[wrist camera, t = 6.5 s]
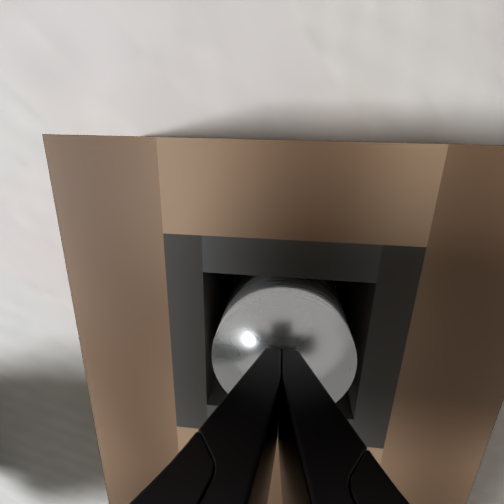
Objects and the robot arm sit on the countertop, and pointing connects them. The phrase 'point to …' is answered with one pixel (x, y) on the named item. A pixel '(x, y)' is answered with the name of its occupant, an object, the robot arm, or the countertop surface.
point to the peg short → (285, 329)
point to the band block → (290, 266)
